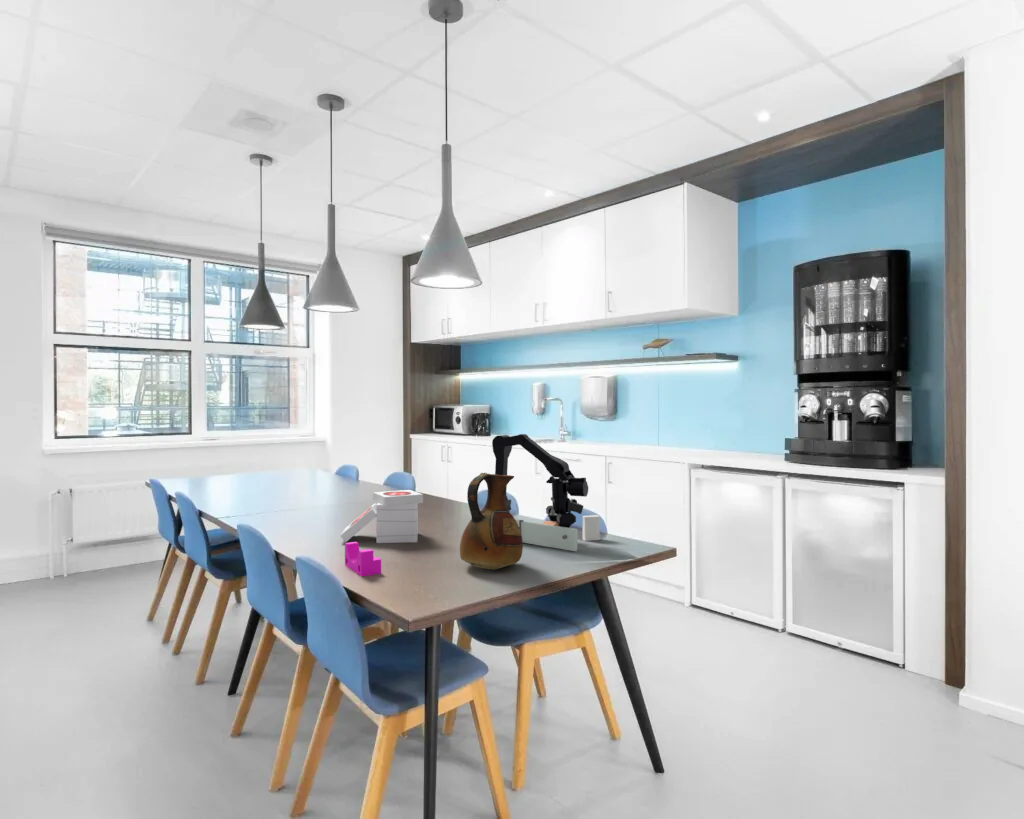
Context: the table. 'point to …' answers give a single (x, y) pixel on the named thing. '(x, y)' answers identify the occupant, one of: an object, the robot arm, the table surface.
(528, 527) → the door
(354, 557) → the toy block
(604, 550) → the table surface
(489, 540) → the ceramic pitcher
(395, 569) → the table surface
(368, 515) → the pizza boxes
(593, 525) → the white small block
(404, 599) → the table surface
